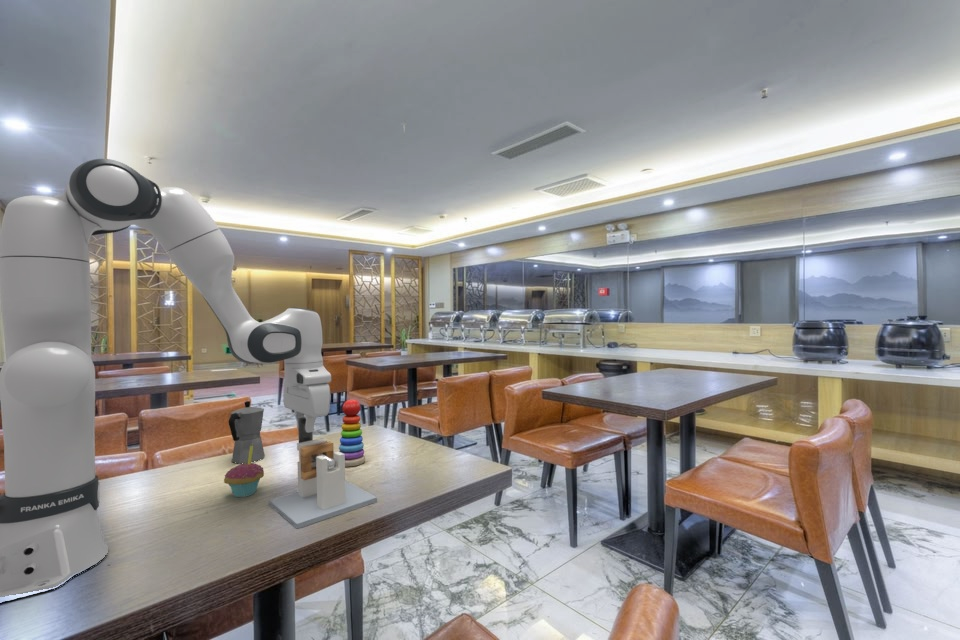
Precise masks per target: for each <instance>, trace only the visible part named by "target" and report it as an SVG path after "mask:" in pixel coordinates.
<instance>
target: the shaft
mask: <svg viewBox="0 0 960 640" xmlns="http://www.w3.org/2000/svg"><path fill="white" fill-rule="evenodd" d="M305 424H306V418H305V417H303V418H299V419H298V428H297V429H298V433H297V434H298V443H301V442H306V441H311V440H314V439H313V438H314V437H313V436H314V435H313V432H314V431H313V432H309V433H308V432H305V431H304V425H305ZM317 456H323V457H325V458H327V468H329V469H334V468H335V467H336V466H337V462H336V461H335V460H333V459H331V458H329V457H327V456H325V455H323V454H321V453H319V454H314V455H311V459H312V460H314V461H316V457H317Z"/></svg>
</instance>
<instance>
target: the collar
mask: <svg viewBox="0 0 960 640" xmlns="http://www.w3.org/2000/svg"><path fill="white" fill-rule="evenodd" d="M334 451H335V450H334V442H333V441H327V442H325V443H320V444H315V445H311V446H306V447H301V448H300V458H301V479H303V480H308V479H311V478H315V477H317V472H316V467H314V468H312V465H311V455H314V454H319V453H323V455H325V456H327V457H329V458H331V459H333V460H334Z"/></svg>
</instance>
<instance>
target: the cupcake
mask: <svg viewBox="0 0 960 640" xmlns="http://www.w3.org/2000/svg"><path fill="white" fill-rule="evenodd" d="M252 445H253V443H252ZM252 445H251V446H250V451H249V459H248V463H247V464H246V463H243V464H237V466H235V467H232V468H230V470H228V471H227V472H226V473H225V475H224V479H223V483H224V484H227V485H228V486H229V487H230V489H231V492H232V493H233V496H234V497H236V498H243V497H248V496H252V495H253V494H255V493H256V491H257V488H258V485H259V482H260V480H261V479H262V478H263V477H265V476H264V475H265V472H264V467H262V465H260V464H257V463H255V462H253V463H251V458H252V451H253V446H252Z"/></svg>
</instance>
